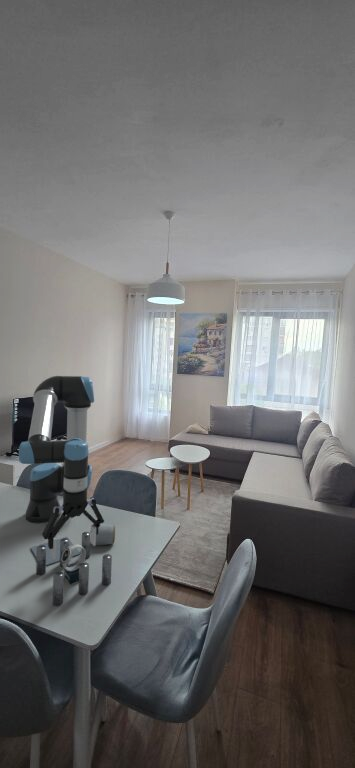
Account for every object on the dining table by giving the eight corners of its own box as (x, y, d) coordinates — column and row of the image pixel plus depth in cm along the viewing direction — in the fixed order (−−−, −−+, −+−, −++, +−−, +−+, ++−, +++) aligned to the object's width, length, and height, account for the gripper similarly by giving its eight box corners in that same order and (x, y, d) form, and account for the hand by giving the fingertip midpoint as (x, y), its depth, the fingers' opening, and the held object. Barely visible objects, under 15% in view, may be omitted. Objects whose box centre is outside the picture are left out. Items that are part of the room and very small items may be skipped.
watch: (58, 577, 113) (59, 546, 112) (81, 569, 118) (82, 539, 117) (64, 587, 109) (64, 554, 108) (87, 577, 114) (88, 546, 113)
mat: (30, 548, 129) (30, 547, 129) (66, 537, 137) (66, 536, 137) (41, 567, 118) (41, 566, 118) (80, 554, 126) (80, 553, 126)
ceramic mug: (115, 547, 132) (115, 528, 132) (93, 549, 130) (94, 529, 130) (114, 533, 142) (115, 516, 142) (94, 535, 141) (95, 517, 140)
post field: (35, 571, 115) (35, 546, 115) (87, 553, 127) (88, 531, 126) (54, 607, 100) (55, 579, 99) (112, 583, 112) (113, 557, 111)
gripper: (39, 500, 100) (38, 569, 102) (114, 484, 116) (112, 544, 117) (32, 492, 106) (31, 557, 107) (105, 478, 121) (103, 534, 123)
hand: (73, 550), depth 112 cm, fingers open, 13 cm apart
